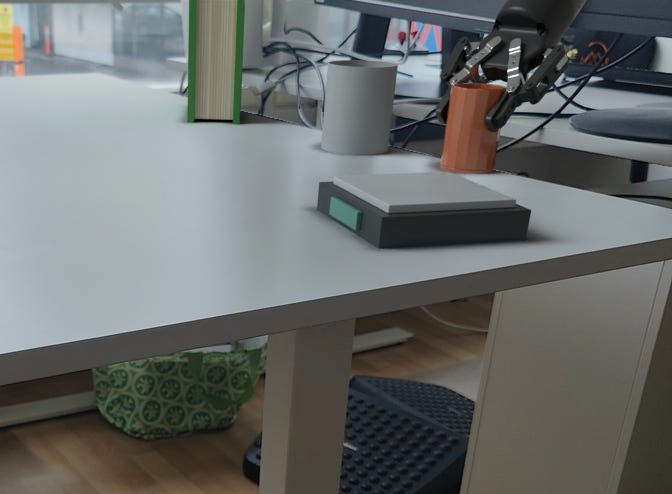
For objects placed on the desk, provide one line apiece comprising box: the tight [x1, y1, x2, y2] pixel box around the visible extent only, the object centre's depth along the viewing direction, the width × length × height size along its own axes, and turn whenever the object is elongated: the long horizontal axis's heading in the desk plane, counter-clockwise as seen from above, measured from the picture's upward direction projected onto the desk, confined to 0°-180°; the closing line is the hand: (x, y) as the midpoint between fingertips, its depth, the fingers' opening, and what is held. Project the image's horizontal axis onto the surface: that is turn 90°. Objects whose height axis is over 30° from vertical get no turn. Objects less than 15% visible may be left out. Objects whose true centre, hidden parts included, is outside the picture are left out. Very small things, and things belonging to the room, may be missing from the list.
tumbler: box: [439, 82, 507, 175], centre depth 108 cm, size 6×6×9 cm
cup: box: [320, 59, 399, 156], centre depth 118 cm, size 8×8×10 cm
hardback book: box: [186, 0, 246, 125], centre depth 138 cm, size 18×7×24 cm, turn 177°
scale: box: [316, 171, 532, 249], centre depth 86 cm, size 14×14×4 cm
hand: (464, 122), depth 107 cm, fingers closed on tumbler, 6 cm apart
